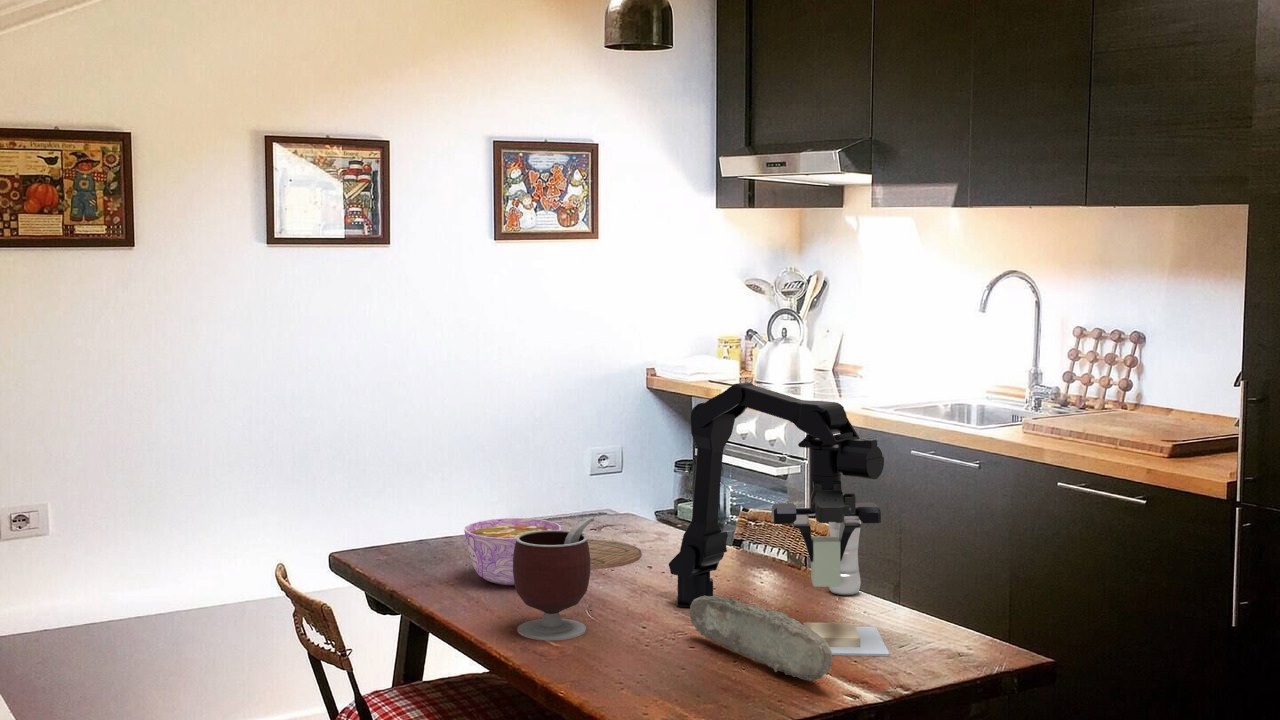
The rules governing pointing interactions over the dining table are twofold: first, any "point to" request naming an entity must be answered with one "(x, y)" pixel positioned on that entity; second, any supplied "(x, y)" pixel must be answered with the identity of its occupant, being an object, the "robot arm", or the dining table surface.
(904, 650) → the dining table surface
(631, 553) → the trivet
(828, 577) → the block
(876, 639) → the board
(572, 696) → the dining table surface
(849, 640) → the foundation slab
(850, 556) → the plastic bottle
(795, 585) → the dining table surface
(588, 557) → the mate gourd
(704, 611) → the long grey stone
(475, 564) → the bowl of food
